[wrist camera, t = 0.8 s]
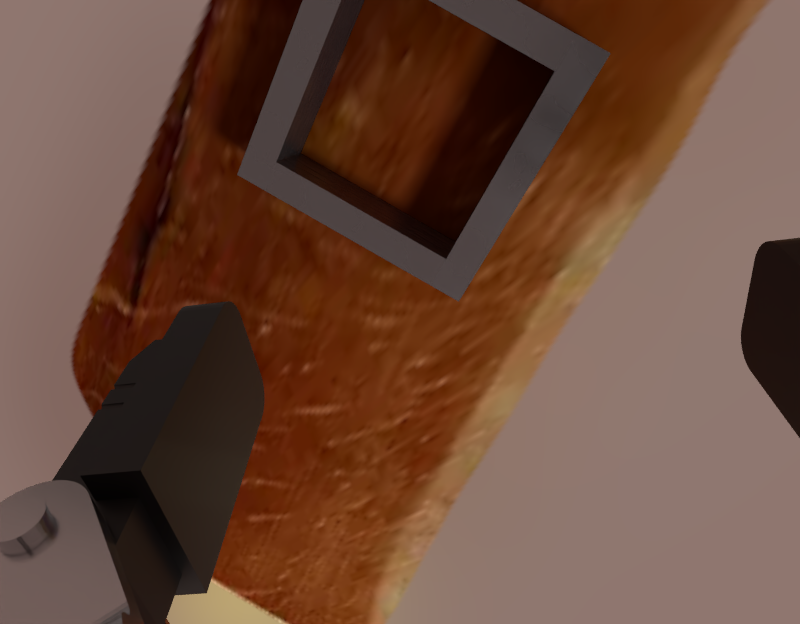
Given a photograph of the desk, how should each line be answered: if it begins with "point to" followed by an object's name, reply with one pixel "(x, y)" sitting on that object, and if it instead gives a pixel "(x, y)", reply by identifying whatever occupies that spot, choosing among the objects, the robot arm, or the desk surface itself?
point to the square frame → (365, 213)
